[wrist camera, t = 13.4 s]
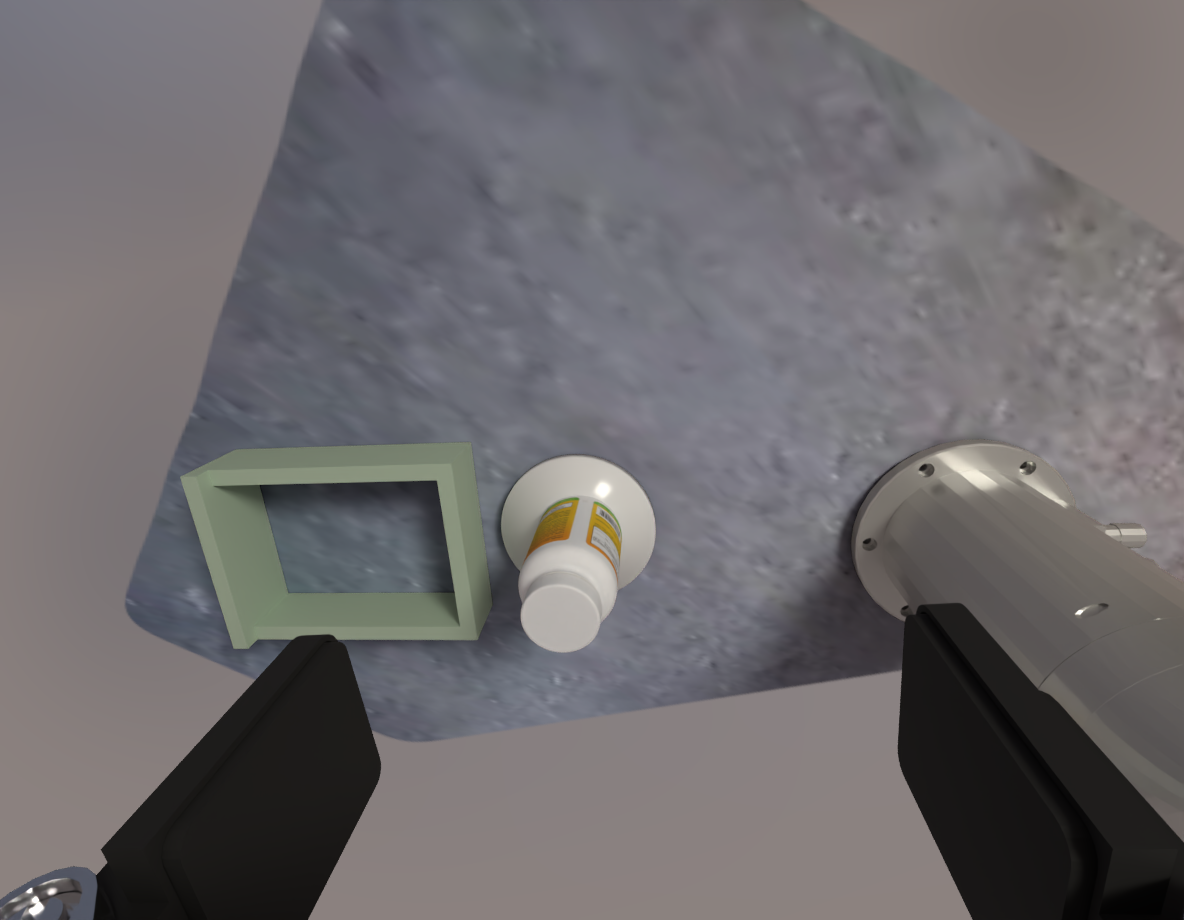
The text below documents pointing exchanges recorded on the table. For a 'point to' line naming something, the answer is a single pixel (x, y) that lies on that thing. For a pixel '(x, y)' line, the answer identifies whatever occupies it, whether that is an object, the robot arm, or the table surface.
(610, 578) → the supplement bottle
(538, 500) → the saucer
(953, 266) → the table surface
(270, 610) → the frame
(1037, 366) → the table surface
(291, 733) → the robot arm
